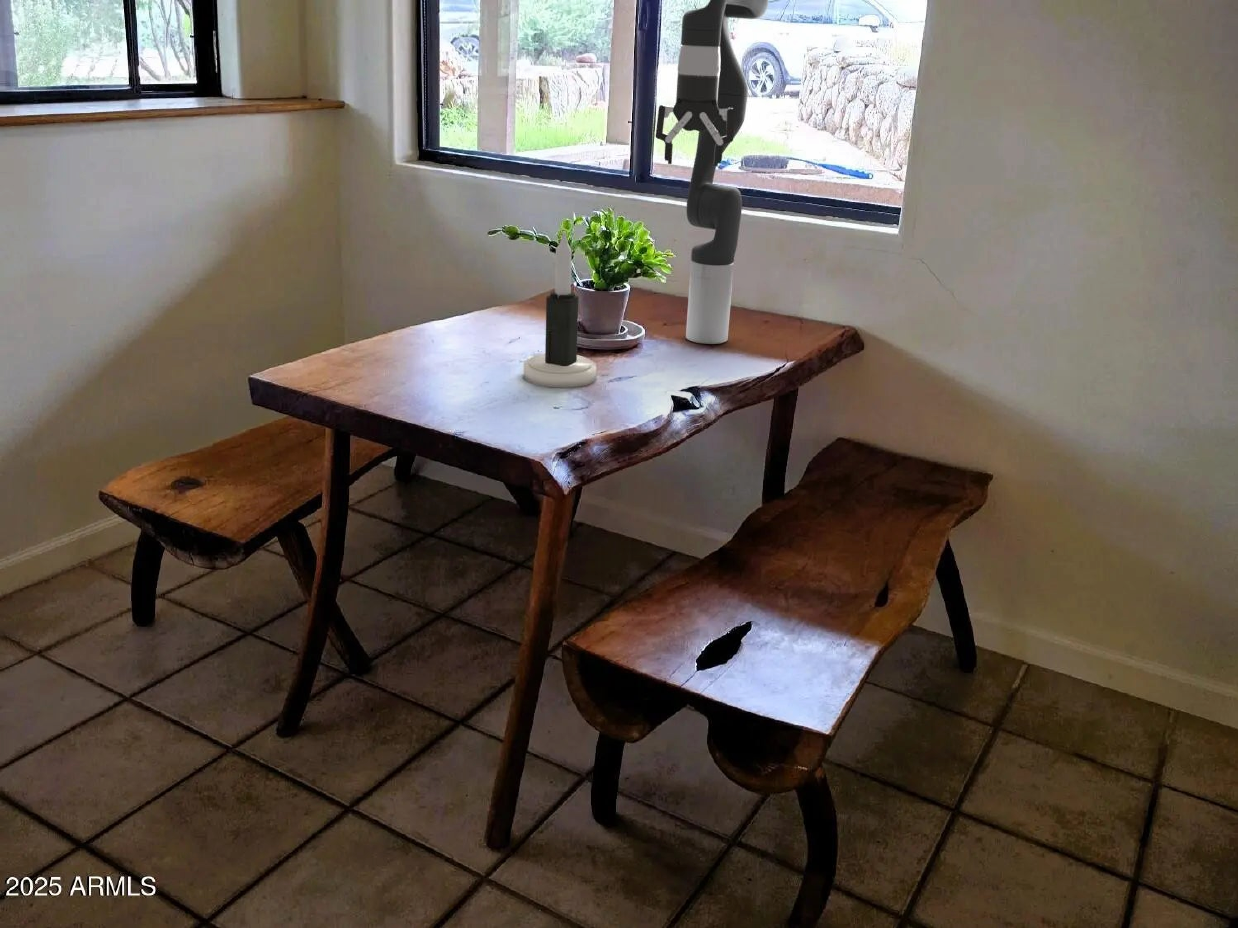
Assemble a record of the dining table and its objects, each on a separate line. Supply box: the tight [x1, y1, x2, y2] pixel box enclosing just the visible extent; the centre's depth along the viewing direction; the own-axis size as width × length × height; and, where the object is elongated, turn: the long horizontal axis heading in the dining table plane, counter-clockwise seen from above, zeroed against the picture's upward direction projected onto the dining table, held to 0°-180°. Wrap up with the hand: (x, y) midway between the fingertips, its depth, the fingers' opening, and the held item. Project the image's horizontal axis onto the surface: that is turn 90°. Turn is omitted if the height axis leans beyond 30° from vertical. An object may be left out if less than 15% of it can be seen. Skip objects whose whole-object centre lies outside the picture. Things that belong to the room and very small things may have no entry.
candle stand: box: [523, 353, 597, 389], centre depth 217 cm, size 14×14×3 cm
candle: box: [544, 230, 580, 366], centre depth 212 cm, size 5×5×25 cm
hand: (692, 164), depth 209 cm, fingers open, 8 cm apart
